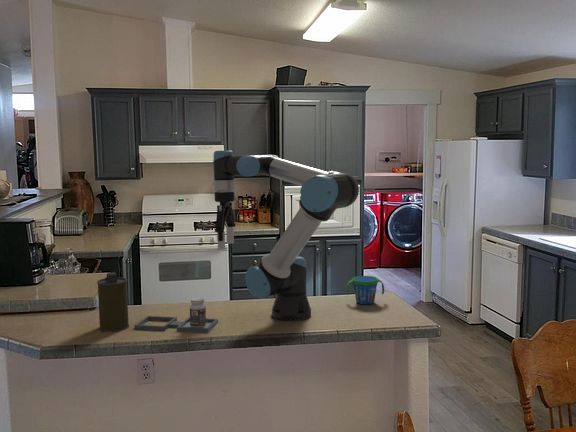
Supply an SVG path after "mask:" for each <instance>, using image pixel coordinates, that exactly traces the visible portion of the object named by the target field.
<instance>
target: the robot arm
mask: <svg viewBox="0 0 576 432" xmlns="http://www.w3.org/2000/svg"><path fill="white" fill-rule="evenodd" d="M212 163H213V180H214V181H213V182H212V185H213V186H214V191H215V192H214V202H215V203H219V205H218V204H217V206H216V218H215V219H216V221H215V229H214V233H216V237H217V250H223V251H224V250H226V244H228V245H229V244H235V240H234V238H235V236H234V235H235V233H234V231H235V229H234V228H235V227H236V222H235V216H234V210H233V209H234V208H233V202H235V200H236V199H235V198H236V197H235V191H234V190H235V176H236V177H253V176H262V175H264V176H267V177H268V176H269V177H270V178H274V179H277V180H281V181H284V182H286V183H291V184H293V185H296V186H300V192H299V194H300V196H299V202H298V203H299V209H298V211H296V214H295V215H294V217H293V218H292V220H291V221H290V223H289V224H288V226H287V227H286V229H285V230H284V232H283V233H282V234H281V236H280V238H279V240H278V241H277V242H276V244H275V245H274V247H272V249H271V251H270V253H265V254H264V255H263V256H262V257H261V259H260V260H259V262H258V263H257V264H256V265H252V266H250V267H249V268H248V269H247V270H246V271H245V276H244V277H245V278H244V280H245V285H246V287H247V289H248V292H249V293H250V294H251V295H252V296H254V297H256V298H258V299H263V298H268V297H271V296H274V295H275V299H274V300H273V305H272V308H271V316H272V318H274V319H277V320H279V321H280V320H281V321H291V322H292V321H302V320H306V319H308V318H310V317H311V316H312V307H311V306H310V302H309V299H308V296H307V268H308V266H307V261H306V258H304V257H303V256H299V255H300V253H301V252H302V251H303V249H304V248H305V246H306V245H307V243H308V242H309V240H310V239H311V238H312V236H313V235H314V234H315V232H316V231H317V229H318V228H319V226H320V225H321V223H322V222H323V223H324V222H328V221H329V219H330V218H331V217H332V216H333V214H334V213H335V211H337V209H342V208H348V207H350V206H351V205H353V204H354V203H355V202H356V201H357V199H358V197H359V192H360V188H359V184H358V181H357V180H356V179H355V177H353V176H352V175H351V174H349V173H344V172H339V171H336V170H331V171H329V172H328V171H325V170H322V169H318V168H314V167H312V166H311V167H310V166H307V165H304V164H300V163H296V162H294V161H290V160H286V159H282V158H280V157H279V156H278V155H275V154H270V153H269V154H268V153H267V154H260V155H259V154H256V155H255V154H252V155H250V154H248V155H247V154H246V155H245V154H244V155H234V152H233V150H215V151H214V152H213V160H212ZM225 228H226V229H225ZM225 230H226V231H225ZM225 232H226V233H225Z"/></svg>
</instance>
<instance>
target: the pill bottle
mask: <svg viewBox="0 0 576 432" xmlns="http://www.w3.org/2000/svg"><path fill="white" fill-rule="evenodd" d="M190 303H191V305H189V318H190V326H191V327H198V328H200V327H204V326H205V325H206V318H207V313H206V311H207V310H206V305H205V304H204V303H205V298H204V297H199V296H198V297H193V298H191V299H190Z"/></svg>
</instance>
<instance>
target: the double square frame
mask: <svg viewBox="0 0 576 432" xmlns="http://www.w3.org/2000/svg"><path fill="white" fill-rule="evenodd" d="M149 321H158V322H159V321H161V322H162V321H163V322H166V323H165V324H164V325H153V324H152V325H151V324H146V323H147V322H149ZM218 323H219V319H218V318H208V317H206V325H205V326H204V327H200V328H198V327H191V326H190V317H187V318H186V319H185V320H183V321H179V320H178V317H177V316H160V315H159V316H158V315H147V316H146V317H144V318H143V319H141V320H140V321H138V322H137V323H136V324H134V326H133V327H134V330H148V331H166V330H168V329H169V328H175V329H176V331H177V332H187V333H189V332H191V333H209V332H211V331H212V329H214V328H215V326H216V325H217V324H218Z"/></svg>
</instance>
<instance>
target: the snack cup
mask: <svg viewBox="0 0 576 432" xmlns="http://www.w3.org/2000/svg"><path fill="white" fill-rule="evenodd" d="M351 283H352V286H353V289H354V297H355V301H356V303H358V304H359V305H372V304H374V303H375V300H376V295H377V287H378V283H381V289H382V290H381V294H382V295H384V294H385V285H384V282H383V281H382V280H380V279H379V278H378V277H376V276H372V275H359V276H354V277H352V279H351V280H349V281H348V282H347V284H346V286H345V287H346V288H345V292H346V295H347V296H349V289H348V287H349V285H350V284H351Z"/></svg>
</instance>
